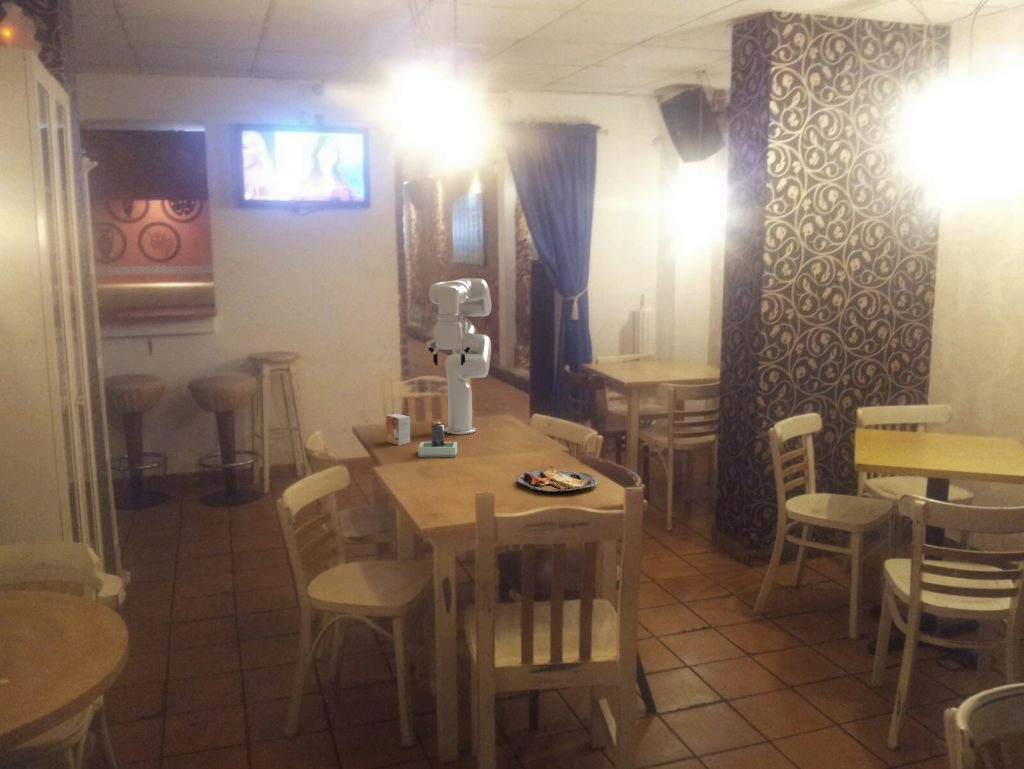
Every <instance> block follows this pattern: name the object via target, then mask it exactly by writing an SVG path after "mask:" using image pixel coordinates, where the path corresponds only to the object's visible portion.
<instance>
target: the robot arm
mask: <svg viewBox="0 0 1024 769" xmlns="http://www.w3.org/2000/svg"><path fill="white" fill-rule="evenodd" d="M428 294H429V295H428V296H429V300H430V302H431V303H432V304H434V305H438V322H436V327H435V337H433V338H431V339H430V340H428V341H427V342H425V346H426V347H427V349H428V351H429V352H431V354H432V356H433V361H432V362H433V364H434V366H438V365H439V356H438V351H441V350H442V351H443V350H444V351H447V350H449V351H450V350H452V353H451V354H450V355H448V356H447V357H446V359H445V363H444V364H445V365H444V366H445V371H446V372H445V373H446V380H447V409H448V410H447V423H448V425H447V427H444V433H446V432H447V433H446V434H449V433H451V434H450V435H468V434H469V433H470V434H473V432H474V433H475V432H476V430H477V429H476V427H475V426H473V417H472V415H473V414H472V412H473V411H472V410H473V409H472V407H473V405H472V404H473V403H472V398H473V397H472V394H473V392H472V387H471V384H470V383H469V382H468V381H467V379H468V378H471V379H476V378H478V379H481V378H482V379H483V378H486V377H487V376H488V374H489V370H490V363H491V357H492V356H491V355H492V341H491V338H490V337H489V335H486V334H479V333H478V334H477V333H476V327H475V325H474V324H473V323H472V321H471V320H469V319H468V318H467V317H488V316H489V315H490V314H491V312H492V306H493V305H492V300H491V299H492V298H491V294H490V288H489V285H488V283H487V281H486V280H485V279H484V278H480V277H478V278H470V277H469V278H468V277H467V278H465V277H464V278H463V277H461V278H458V279H456V280H450V281H449V280H448V281H443V282H435V283H432V284H431V286H430V287H429V292H428ZM434 343H435V345H434V346H435V349H434V348H433V347H432V346H431V344H434Z"/></svg>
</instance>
